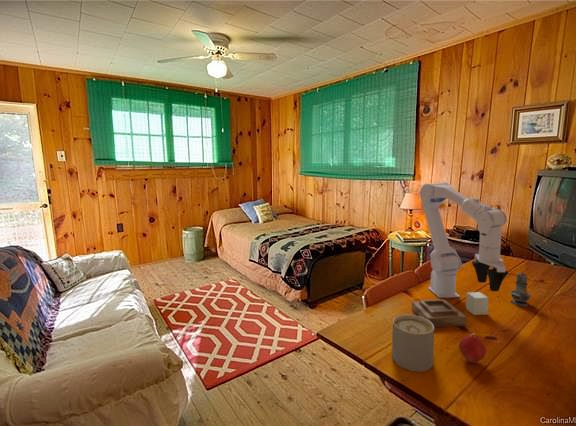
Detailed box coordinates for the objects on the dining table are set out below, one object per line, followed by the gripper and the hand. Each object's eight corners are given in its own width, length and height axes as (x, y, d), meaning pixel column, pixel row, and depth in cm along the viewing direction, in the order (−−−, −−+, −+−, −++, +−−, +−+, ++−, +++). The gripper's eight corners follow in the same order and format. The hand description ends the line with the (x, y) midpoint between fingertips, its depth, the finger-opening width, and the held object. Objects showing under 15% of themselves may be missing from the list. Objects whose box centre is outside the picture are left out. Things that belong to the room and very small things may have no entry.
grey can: (418, 377, 71) (419, 338, 70) (384, 356, 79) (384, 321, 78) (447, 356, 79) (449, 321, 77) (413, 339, 87) (414, 307, 85)
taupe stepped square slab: (411, 309, 105) (412, 298, 104) (445, 308, 105) (446, 297, 104) (428, 327, 93) (428, 314, 92) (466, 325, 93) (466, 313, 92)
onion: (453, 355, 79) (454, 327, 78) (473, 353, 79) (475, 326, 78) (468, 370, 73) (470, 340, 72) (490, 368, 74) (492, 338, 72)
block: (465, 308, 104) (466, 292, 103) (478, 308, 104) (479, 292, 103) (473, 314, 100) (474, 298, 99) (487, 314, 100) (488, 297, 99)
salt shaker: (534, 307, 104) (537, 274, 102) (514, 306, 105) (517, 273, 103) (524, 299, 109) (527, 268, 108) (506, 299, 110) (508, 268, 109)
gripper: (517, 252, 89) (514, 295, 91) (490, 241, 103) (488, 278, 105) (492, 252, 90) (490, 294, 92) (469, 241, 104) (467, 278, 106)
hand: (487, 286), depth 98 cm, fingers open, 7 cm apart
